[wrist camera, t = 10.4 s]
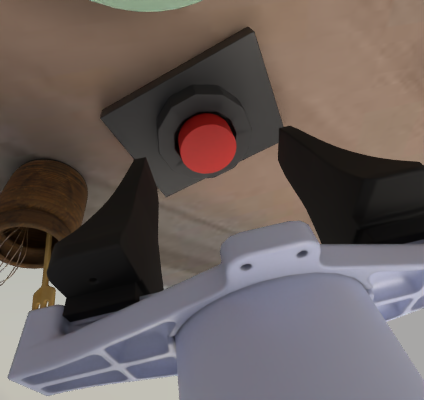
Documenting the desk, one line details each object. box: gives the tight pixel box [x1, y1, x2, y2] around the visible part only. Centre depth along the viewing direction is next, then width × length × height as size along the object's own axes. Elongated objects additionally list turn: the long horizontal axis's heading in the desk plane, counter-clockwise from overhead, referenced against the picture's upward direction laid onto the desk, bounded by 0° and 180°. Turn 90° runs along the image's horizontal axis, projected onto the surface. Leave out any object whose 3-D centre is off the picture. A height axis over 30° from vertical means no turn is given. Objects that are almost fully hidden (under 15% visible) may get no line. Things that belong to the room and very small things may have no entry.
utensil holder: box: [0, 160, 88, 310], centre depth 20 cm, size 6×6×12 cm
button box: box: [100, 27, 283, 197], centre depth 22 cm, size 12×9×3 cm
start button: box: [178, 113, 236, 174], centre depth 20 cm, size 4×4×2 cm
